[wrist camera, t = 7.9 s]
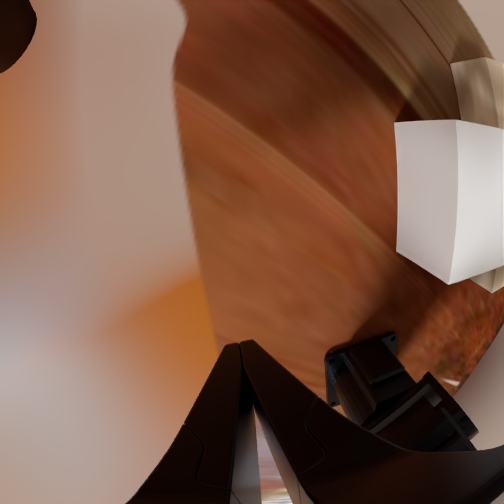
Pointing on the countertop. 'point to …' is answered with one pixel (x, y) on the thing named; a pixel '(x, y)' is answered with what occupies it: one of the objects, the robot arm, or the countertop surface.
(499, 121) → the board
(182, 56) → the countertop surface
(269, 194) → the countertop surface
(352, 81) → the countertop surface
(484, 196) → the block
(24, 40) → the mug
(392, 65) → the countertop surface
